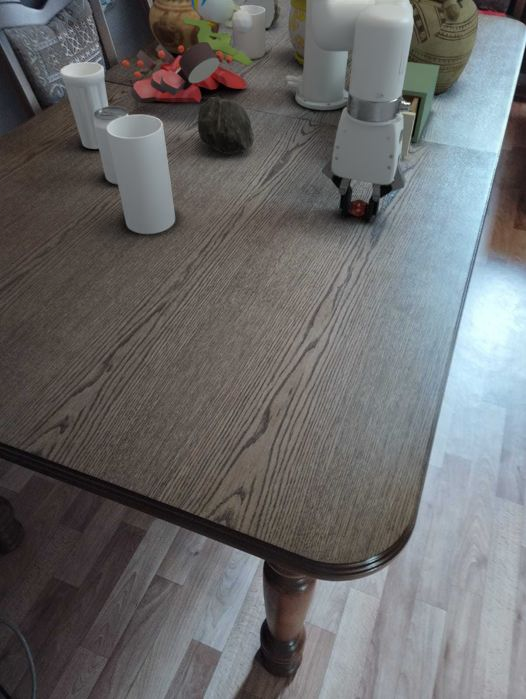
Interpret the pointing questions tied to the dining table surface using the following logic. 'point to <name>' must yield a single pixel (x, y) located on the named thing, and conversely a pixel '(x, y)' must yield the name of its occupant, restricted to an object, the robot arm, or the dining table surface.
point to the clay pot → (175, 24)
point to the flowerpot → (298, 28)
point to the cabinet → (420, 90)
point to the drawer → (409, 121)
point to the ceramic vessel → (443, 37)
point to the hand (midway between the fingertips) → (357, 214)
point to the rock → (225, 126)
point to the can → (100, 124)
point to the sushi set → (196, 58)
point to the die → (358, 207)
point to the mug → (252, 34)
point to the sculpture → (267, 10)
